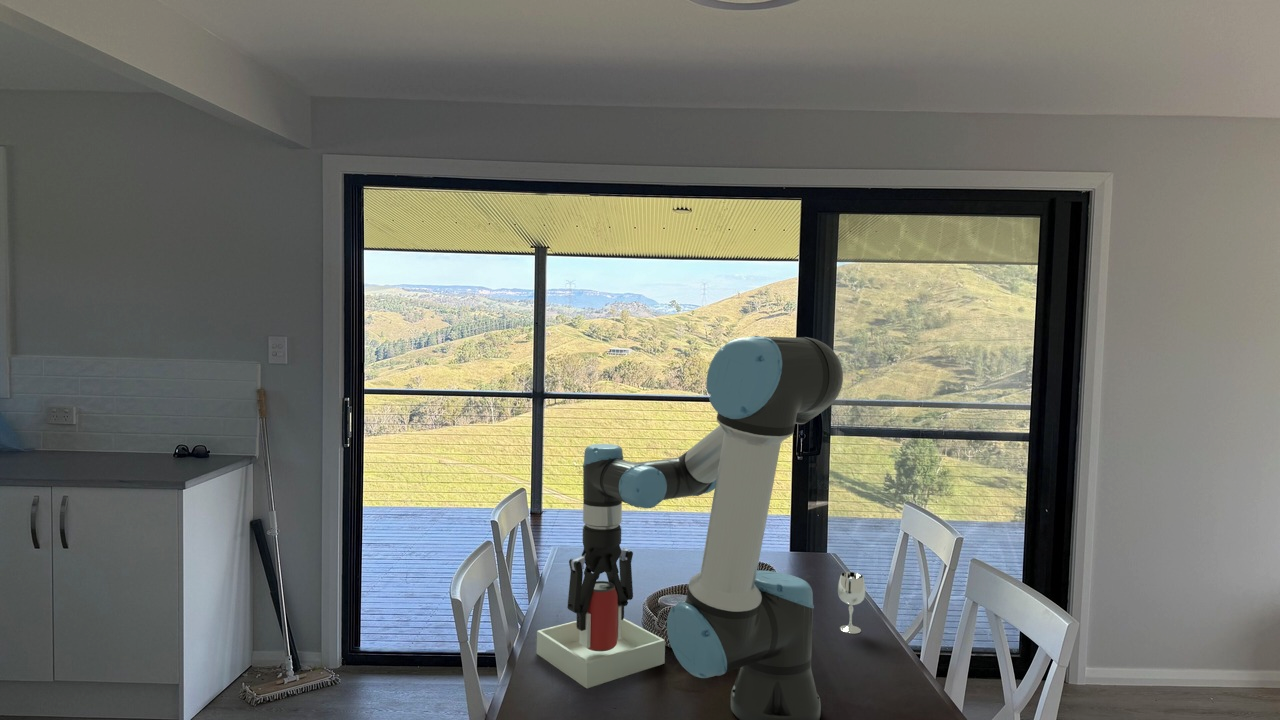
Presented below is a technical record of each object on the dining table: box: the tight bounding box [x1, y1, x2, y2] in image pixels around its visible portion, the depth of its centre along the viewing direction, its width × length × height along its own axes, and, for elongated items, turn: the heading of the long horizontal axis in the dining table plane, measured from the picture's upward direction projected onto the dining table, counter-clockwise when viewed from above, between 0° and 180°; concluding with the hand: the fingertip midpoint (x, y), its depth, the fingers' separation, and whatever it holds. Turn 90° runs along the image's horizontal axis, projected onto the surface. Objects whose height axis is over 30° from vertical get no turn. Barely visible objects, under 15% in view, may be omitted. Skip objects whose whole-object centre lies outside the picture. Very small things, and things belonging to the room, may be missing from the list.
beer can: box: [587, 580, 618, 651], centre depth 151 cm, size 7×7×12 cm
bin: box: [536, 618, 666, 689], centre depth 151 cm, size 18×18×5 cm
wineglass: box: [837, 571, 866, 635], centre depth 168 cm, size 6×6×12 cm
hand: (600, 640), depth 151 cm, fingers closed on beer can, 6 cm apart
